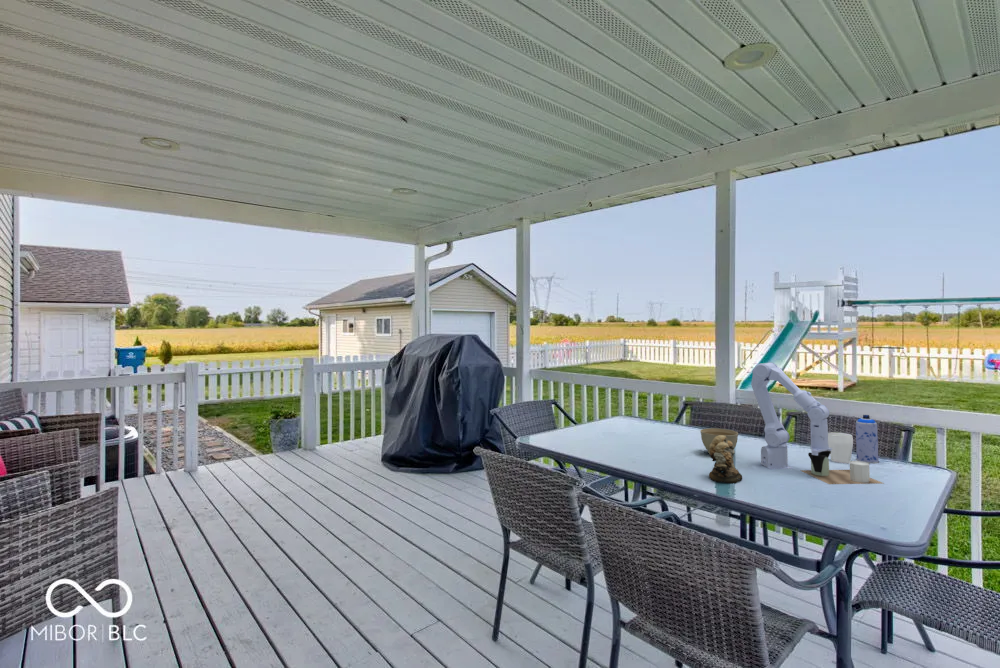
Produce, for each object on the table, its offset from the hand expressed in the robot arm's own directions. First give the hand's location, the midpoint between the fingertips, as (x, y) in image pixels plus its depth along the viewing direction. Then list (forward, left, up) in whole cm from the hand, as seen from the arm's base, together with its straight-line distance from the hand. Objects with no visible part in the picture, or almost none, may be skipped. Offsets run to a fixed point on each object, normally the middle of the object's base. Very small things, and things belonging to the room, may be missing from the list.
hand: (820, 470), depth 189 cm
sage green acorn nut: (0, 0, -1) cm, 1 cm away
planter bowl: (-25, +34, -2) cm, 42 cm away
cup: (+20, +18, -2) cm, 27 cm away
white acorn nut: (+9, -9, -1) cm, 13 cm away
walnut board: (+5, -4, -2) cm, 7 cm away
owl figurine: (-38, -2, -2) cm, 38 cm away
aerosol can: (+32, +19, -2) cm, 37 cm away
